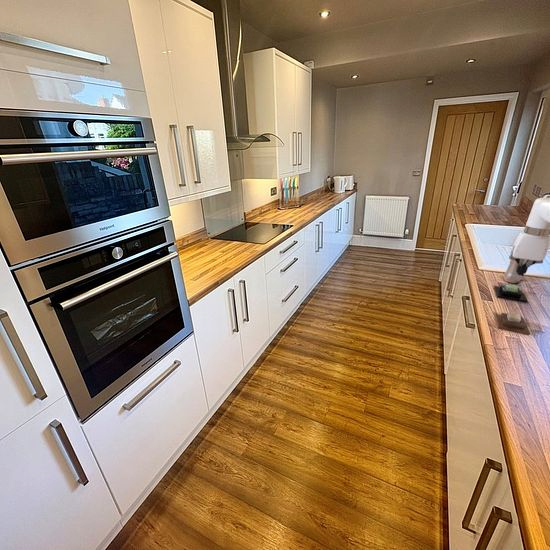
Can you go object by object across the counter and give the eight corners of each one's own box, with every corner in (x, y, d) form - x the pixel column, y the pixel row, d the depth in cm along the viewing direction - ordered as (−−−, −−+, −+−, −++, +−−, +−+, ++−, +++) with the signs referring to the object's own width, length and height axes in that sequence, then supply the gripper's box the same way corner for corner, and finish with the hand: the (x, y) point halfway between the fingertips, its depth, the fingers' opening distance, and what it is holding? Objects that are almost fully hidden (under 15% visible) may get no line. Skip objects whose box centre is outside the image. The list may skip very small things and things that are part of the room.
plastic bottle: (521, 285, 136) (537, 245, 128) (504, 283, 139) (518, 244, 130) (516, 279, 142) (531, 241, 133) (500, 277, 144) (513, 239, 135)
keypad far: (520, 292, 131) (522, 286, 129) (525, 303, 123) (528, 296, 121) (493, 288, 135) (495, 282, 134) (496, 297, 127) (499, 291, 126)
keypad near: (522, 322, 110) (525, 315, 109) (528, 335, 103) (531, 328, 102) (494, 316, 114) (496, 310, 113) (498, 328, 107) (500, 322, 106)
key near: (517, 318, 108) (519, 314, 108) (519, 323, 106) (521, 319, 105) (506, 316, 110) (508, 312, 109) (508, 320, 107) (509, 317, 106)
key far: (515, 289, 128) (516, 285, 128) (516, 292, 125) (518, 289, 125) (505, 287, 130) (506, 284, 129) (506, 291, 127) (507, 287, 126)
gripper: (558, 231, 111) (540, 274, 119) (510, 226, 117) (496, 267, 125) (565, 236, 105) (545, 281, 113) (514, 231, 111) (499, 274, 119)
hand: (519, 274), depth 119 cm, fingers closed
